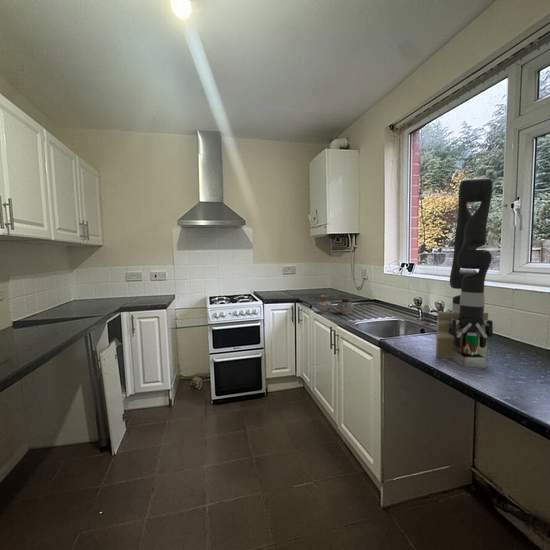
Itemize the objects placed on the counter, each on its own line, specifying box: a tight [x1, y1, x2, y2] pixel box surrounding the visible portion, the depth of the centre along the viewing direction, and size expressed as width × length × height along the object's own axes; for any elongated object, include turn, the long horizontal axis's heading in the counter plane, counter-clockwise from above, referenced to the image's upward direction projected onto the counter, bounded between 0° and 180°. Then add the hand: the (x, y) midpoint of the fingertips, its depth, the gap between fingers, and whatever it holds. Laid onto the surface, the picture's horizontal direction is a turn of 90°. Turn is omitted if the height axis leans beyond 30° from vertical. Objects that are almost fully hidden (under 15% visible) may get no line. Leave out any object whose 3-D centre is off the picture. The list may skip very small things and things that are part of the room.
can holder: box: [449, 349, 488, 369], centre depth 114 cm, size 10×8×4 cm
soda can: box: [461, 331, 479, 357], centre depth 113 cm, size 5×5×12 cm
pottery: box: [316, 294, 356, 316], centre depth 205 cm, size 11×25×12 cm, turn 78°
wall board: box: [435, 311, 489, 359], centre depth 119 cm, size 2×18×18 cm, turn 84°
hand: (469, 347), depth 113 cm, fingers open, 8 cm apart
